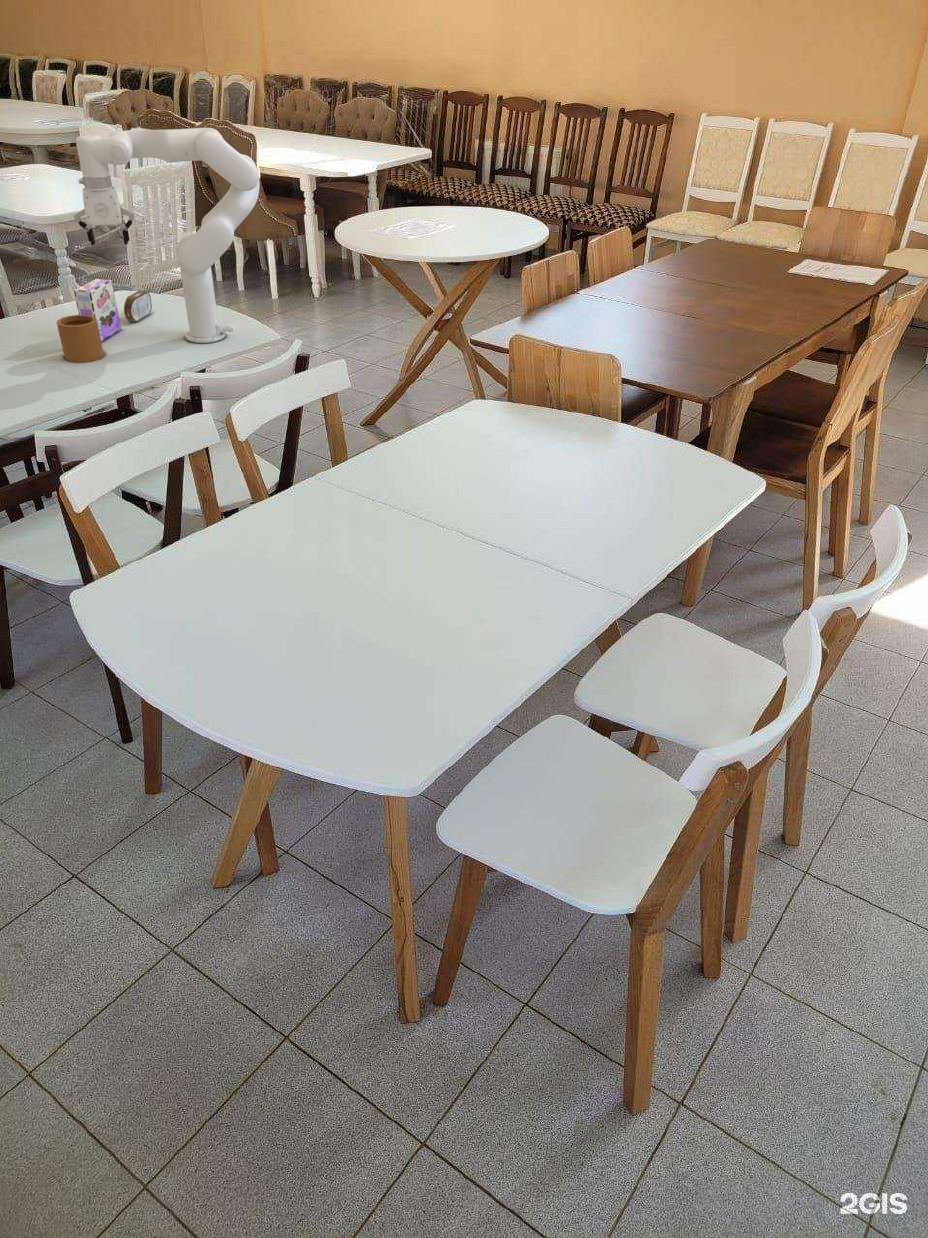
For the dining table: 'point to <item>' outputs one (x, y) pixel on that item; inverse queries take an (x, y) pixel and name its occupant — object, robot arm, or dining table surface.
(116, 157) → the robot arm
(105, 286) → the candy box
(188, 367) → the dining table surface
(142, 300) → the tin
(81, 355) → the jar
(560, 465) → the dining table surface
